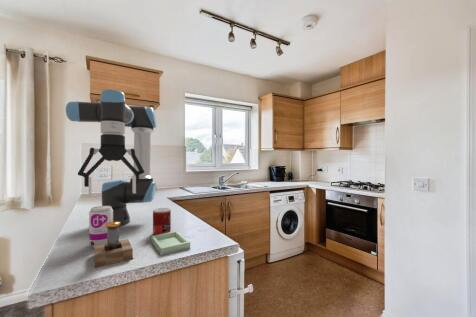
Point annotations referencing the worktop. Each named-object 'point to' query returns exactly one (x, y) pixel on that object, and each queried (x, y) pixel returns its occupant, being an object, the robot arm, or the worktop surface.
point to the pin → (113, 235)
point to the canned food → (161, 221)
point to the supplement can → (99, 224)
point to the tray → (170, 242)
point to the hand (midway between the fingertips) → (113, 194)
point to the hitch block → (112, 253)
